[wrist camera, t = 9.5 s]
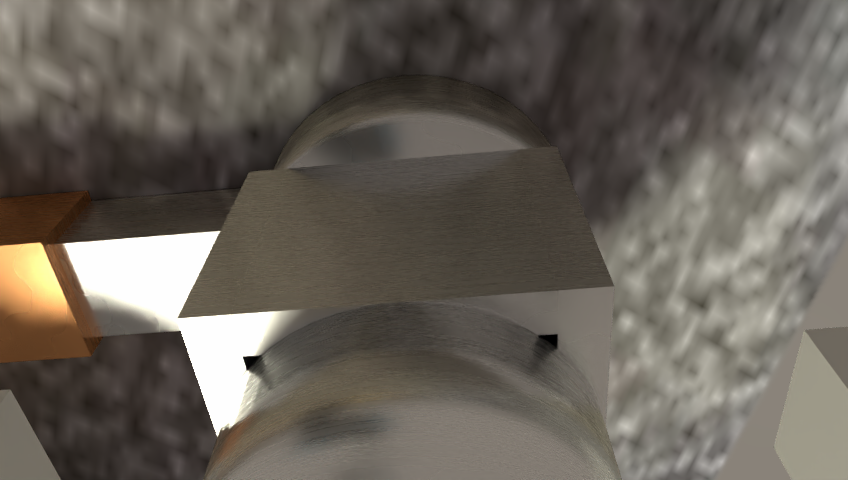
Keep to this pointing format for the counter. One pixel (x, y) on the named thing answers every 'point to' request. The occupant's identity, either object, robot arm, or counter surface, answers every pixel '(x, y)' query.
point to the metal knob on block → (406, 324)
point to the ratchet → (207, 217)
